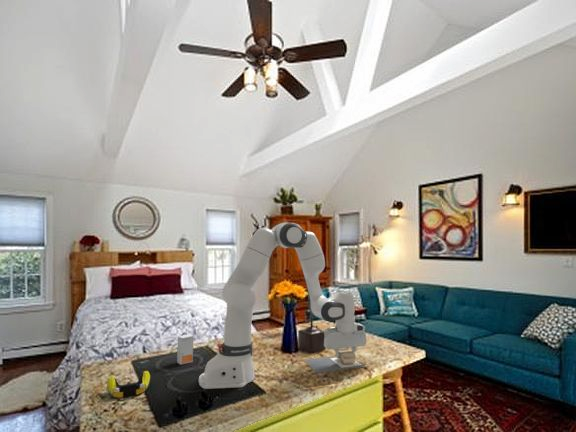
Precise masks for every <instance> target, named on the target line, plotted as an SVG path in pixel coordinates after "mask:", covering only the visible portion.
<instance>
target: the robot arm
mask: <svg viewBox="0 0 576 432" xmlns="http://www.w3.org/2000/svg"><path fill="white" fill-rule="evenodd" d="M277 247H278V248H279V247H281V248H283V249H284V248H285V249H294V250H295V252H296V254H297V256H298V260H299V263H300V267H301V270H302V272H303V273H302V274H303V278H304V281H305V285H306V289H307V293H308V310H309V311H310V313H311V315H312V317H316V318H318V319H321V320H323V321H325V322H329V323H331V322H335V326H334V327H327V328H326V329H325V330H323V331H324V336H325V338H324V347H325V348H326V349H325V350H333V351H334V352H335V356H336V357H337V358H341V354H340V353H338V351H339V349H342V348H347V349H348V348H352V349H351V350H350V351H351V352H352V353H354V354H355V353H356V351H357V348H358V347H365V346H366V344H367V333H366V331H365V330H366V327H365V325H364V324H361V323H359V322H356V318H355V310H356V309H355V308H356V306H355V297H354V295H353V293H351V292H350V291H345V290H336V292H335V293H334V294H333V295H331V296H330V297H328V298H327V297H326V296H325V295H324V294H323V292H322V288H321V285H320V280H319V277H320V274H321V273H322V272H323V271H324V269H325V267H326V261H325V255H324V252H323V249H322V246H321V245H320V242H319V239H318V237H317V236H316V234H315V233H314V232H312V231H306V230H304V229H303V228H302V226H300V224H298V223H295V222H281V223H277V224H275V225H274V226H272V227H270V228H268V227H259V228H258V229H256V231H255V232H254V233H253V234H252V236H251V238H250V239H249V241H248V243H247V244H246V247H245V249H244V251H243V254H242V255H241V257H240V259H239V262H238V263H237V265H236V267H235V268H234V269H233V271H232V273H231V274H230V276H229V278H228V279H227V281H226V282H225V284H224V286H222V289H221V290H222V292H221V294H222V298H223V301H224V302H225V303H226V315H225V320H224V324H223V325H224V327H223V328H224V329H223V333H224V335H223V337H224V338H223V343H222V342H218V343H217V344H216V347H217V349H218V353H217V354H216V355H215V356H213V357H212V358H211V359H210V360H209V361H207V363H206V365H205V369H204V372H203V373H201V374H200V375H199V377H198V385H199V386H200V387H201V388H202V389H205V390H210V389H211V390H213V389H227V388H228V389H230V388H243V387H245V386H246V385H247V384H248V383H251V382H253V381H254V380H255V379H256V378H255V377H256V375H255V371H254V366H253V350H254V349H253V348H254V347H253V342H252V321H253V316H254V315H253V314H254V310H255V309H254V307H255V305H256V300H257V299H256V297H257V296H256V294H255V291H254V289H253V288H254V286H255V284H256V283H257V281H258V280H259V279H260V278H261V277H262V276H263V274H264V271H265V269H266V267H267V265H268V263H269V260H270V258H271V256H272V254H273V251H274V250H275V249H276V248H277Z"/></svg>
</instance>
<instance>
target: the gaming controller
mask: <svg viewBox="0 0 576 432" xmlns="http://www.w3.org/2000/svg"><path fill="white" fill-rule="evenodd" d="M150 381H151V374H150V372H149V371H148V370H144V371H143V372H142V374H141V375H140V377H139V380H138V381H136V382H130V383H125V384H119V382H118V380H117V379H116V378H115V376H114V375H113V376H109V377H108V378H107V381H106V389H107V392H108V393H109V394H110V396H111V397H113V398H121V399H122V398H125V397H131V396H132V397H133V396H136V395H140V394H142V393H144V392H145V391H147V389H148V388H149V385H150Z"/></svg>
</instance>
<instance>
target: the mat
mask: <svg viewBox="0 0 576 432" xmlns="http://www.w3.org/2000/svg"><path fill="white" fill-rule="evenodd" d="M303 361H304V362H305V363H306V364H307V365H308V367H310V368H311V369H312V370H313V371H314V372H316V373H317V374H318V373H326V372H327V373H328V372H335V371H340V370H341V371H343V370H350V369H358V368H365V367H366V366H365V365H364V364H362V363H361V362H359V361H358V360H356V359H355V363H347V364H344V363H343V362H341V361H340V360H339V359H337V358H336V355H334V356H333V355H332V356H325V357H316V358H310V359H303Z"/></svg>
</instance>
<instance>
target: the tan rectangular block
mask: <svg viewBox="0 0 576 432" xmlns="http://www.w3.org/2000/svg"><path fill="white" fill-rule="evenodd" d="M351 351H352V350H349V349H348V348H339V351H338V353H340V354H341V358H337V357H336V358H337V359H339V360H340V361H341V362H343V363H344V364H347V363H355V360H356V354H355V353H352V352H351Z"/></svg>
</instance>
